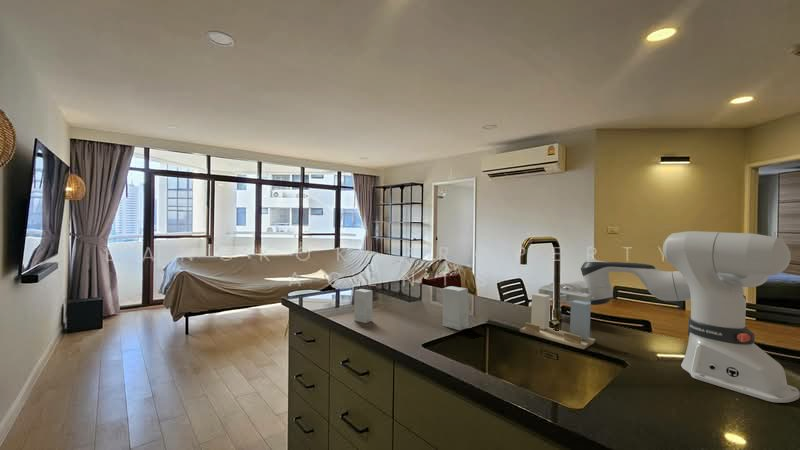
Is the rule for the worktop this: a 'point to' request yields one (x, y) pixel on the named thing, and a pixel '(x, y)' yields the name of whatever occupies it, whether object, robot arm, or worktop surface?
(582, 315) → the slate blue key
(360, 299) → the skincare box
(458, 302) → the skincare box
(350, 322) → the worktop surface
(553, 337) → the switch base
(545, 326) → the ivory key
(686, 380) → the worktop surface
